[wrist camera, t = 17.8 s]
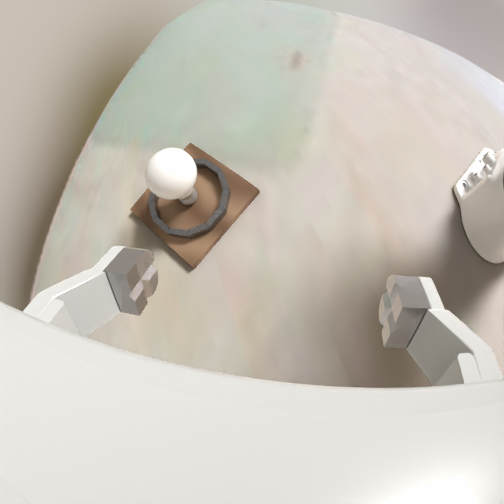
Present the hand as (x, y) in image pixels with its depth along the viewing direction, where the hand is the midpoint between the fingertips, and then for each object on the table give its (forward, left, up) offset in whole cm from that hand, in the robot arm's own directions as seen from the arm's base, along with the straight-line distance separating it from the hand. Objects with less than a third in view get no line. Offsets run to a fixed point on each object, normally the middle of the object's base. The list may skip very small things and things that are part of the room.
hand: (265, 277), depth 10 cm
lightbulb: (-4, -19, -28) cm, 34 cm away
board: (-4, -19, -29) cm, 35 cm away
